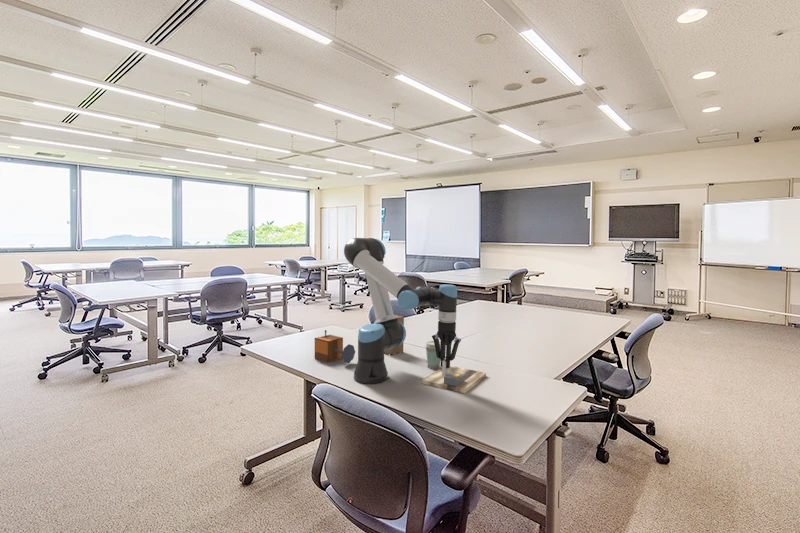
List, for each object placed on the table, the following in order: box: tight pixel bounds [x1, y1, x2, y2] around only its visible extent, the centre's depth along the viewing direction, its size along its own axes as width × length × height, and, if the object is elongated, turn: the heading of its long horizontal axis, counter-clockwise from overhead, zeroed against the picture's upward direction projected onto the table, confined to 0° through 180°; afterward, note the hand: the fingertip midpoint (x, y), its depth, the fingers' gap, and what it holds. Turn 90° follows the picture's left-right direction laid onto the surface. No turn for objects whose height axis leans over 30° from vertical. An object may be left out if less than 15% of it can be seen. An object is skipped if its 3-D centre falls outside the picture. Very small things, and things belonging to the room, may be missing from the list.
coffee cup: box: [424, 340, 441, 370], centre depth 190 cm, size 8×9×12 cm
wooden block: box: [384, 314, 405, 356], centre depth 215 cm, size 10×10×20 cm
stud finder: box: [444, 372, 465, 387], centre depth 165 cm, size 6×8×3 cm
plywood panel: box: [421, 365, 487, 394], centre depth 173 cm, size 20×25×2 cm
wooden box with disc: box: [314, 329, 356, 364], centre depth 199 cm, size 11×20×14 cm, turn 51°
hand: (444, 374), depth 167 cm, fingers closed
